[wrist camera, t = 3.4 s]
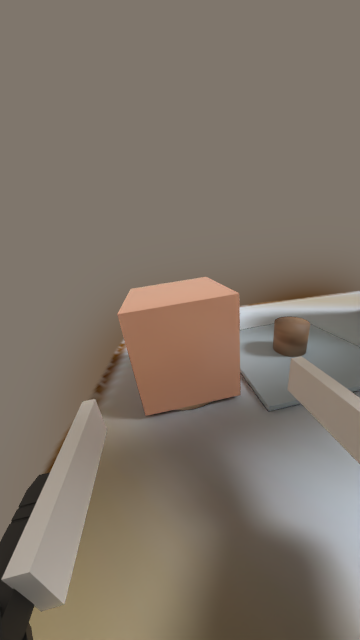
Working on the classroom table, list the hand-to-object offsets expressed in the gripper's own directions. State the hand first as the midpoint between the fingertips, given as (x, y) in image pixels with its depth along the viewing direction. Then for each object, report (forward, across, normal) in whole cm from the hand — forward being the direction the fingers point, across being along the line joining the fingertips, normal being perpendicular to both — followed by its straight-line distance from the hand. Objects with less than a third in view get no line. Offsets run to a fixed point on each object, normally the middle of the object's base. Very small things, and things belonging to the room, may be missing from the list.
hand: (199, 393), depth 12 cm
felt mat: (+11, +15, -6) cm, 19 cm away
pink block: (+10, 0, -6) cm, 11 cm away
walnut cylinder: (+11, +15, -6) cm, 19 cm away
